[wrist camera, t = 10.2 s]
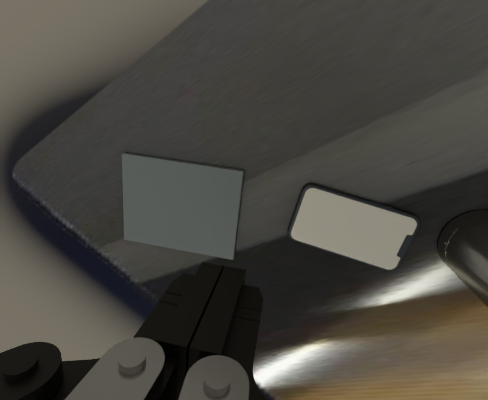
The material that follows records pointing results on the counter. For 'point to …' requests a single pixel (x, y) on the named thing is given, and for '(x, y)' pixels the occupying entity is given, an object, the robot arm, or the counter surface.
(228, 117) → the counter surface
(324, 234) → the smartphone
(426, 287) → the counter surface
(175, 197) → the mat
